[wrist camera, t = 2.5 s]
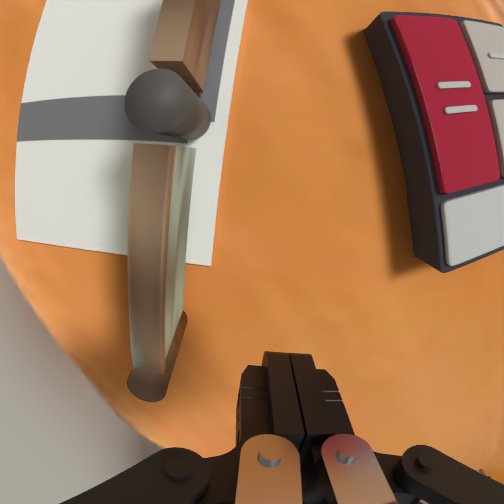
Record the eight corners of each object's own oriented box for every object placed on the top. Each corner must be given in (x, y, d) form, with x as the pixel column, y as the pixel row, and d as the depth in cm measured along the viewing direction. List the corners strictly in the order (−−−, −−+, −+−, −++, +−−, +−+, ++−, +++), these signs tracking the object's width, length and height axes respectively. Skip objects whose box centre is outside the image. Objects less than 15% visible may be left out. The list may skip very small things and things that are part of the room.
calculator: (510, 21, 10) (552, 232, 14) (476, 36, 14) (516, 221, 18) (382, 4, 11) (447, 280, 15) (357, 33, 15) (412, 258, 19)
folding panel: (168, 145, 15) (124, 142, 9) (202, 148, 16) (175, 145, 9) (158, 328, 19) (129, 397, 13) (186, 332, 19) (166, 404, 13)
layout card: (52, -8, 12) (50, -10, 12) (252, -25, 13) (252, -27, 13) (19, 238, 17) (16, 239, 17) (211, 264, 18) (210, 266, 18)
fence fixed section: (200, -27, 13) (182, -97, 6) (237, -25, 13) (234, -98, 6) (169, 138, 16) (120, 130, 9) (208, 141, 16) (183, 133, 9)
